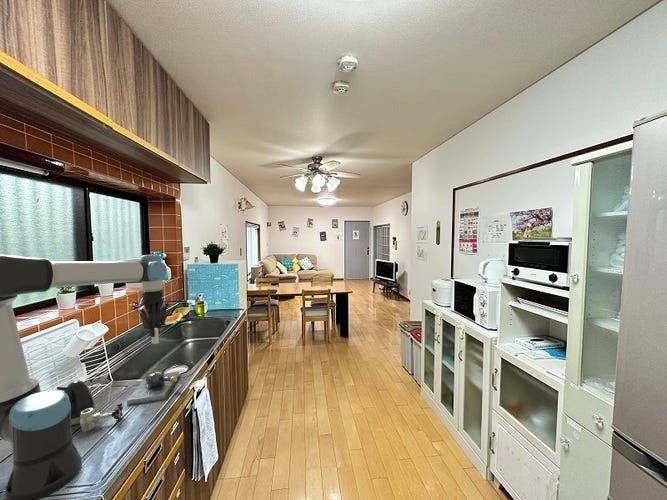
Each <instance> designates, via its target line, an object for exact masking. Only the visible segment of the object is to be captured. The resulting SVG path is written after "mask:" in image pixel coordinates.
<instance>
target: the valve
mask: <svg viewBox="0 0 667 500" xmlns="http://www.w3.org/2000/svg"><path fill="white" fill-rule="evenodd" d="M94 410H95V409H93V408H88V409H85V410H83V411H82V412H80V417H81V419H80V423H79V424H80V429H81V431H82V432H83V433H84V432H88V431H91V430H92V429H94V428H95V423H98V422H99V423H100V422H101V421H102V420H103V419H109V418H110V417H112V418H114V419H115V423H119V422H121V421H122V417H123V415H124V414H123V410H124V407H123V402H119V403H117V404H116V408H114V409H113V411H112V412H105V413H102V412H100V411H99V412H97V413H94Z"/></svg>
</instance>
